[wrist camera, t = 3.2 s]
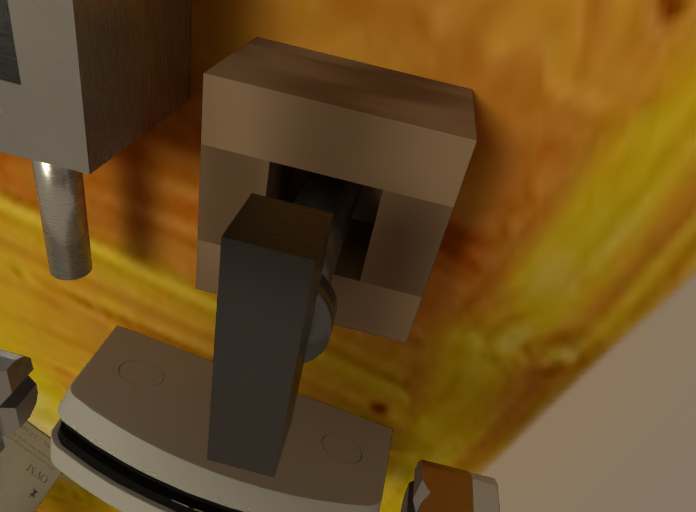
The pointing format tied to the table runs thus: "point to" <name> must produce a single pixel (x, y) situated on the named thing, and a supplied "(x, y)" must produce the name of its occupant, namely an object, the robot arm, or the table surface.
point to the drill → (85, 98)
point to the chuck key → (273, 315)
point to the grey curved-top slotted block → (202, 441)
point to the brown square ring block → (338, 166)
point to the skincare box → (26, 470)
